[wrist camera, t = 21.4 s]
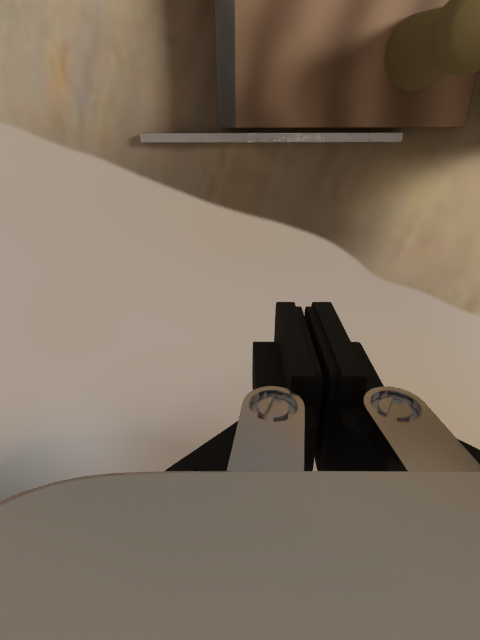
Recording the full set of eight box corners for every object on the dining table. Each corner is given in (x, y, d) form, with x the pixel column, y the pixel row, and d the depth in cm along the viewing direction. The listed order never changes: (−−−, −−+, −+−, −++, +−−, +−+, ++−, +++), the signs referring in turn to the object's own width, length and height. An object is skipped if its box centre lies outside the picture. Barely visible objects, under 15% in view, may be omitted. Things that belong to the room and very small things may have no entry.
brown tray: (493, -28, 33) (538, -56, 28) (458, 126, 39) (489, 127, 34) (217, -27, 33) (213, -54, 28) (221, 127, 39) (217, 127, 34)
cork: (379, 27, 34) (434, -13, 24) (449, -1, 33) (536, -53, 23) (389, 101, 37) (442, 92, 27) (454, 77, 36) (534, 60, 26)
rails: (427, -47, 33) (435, -55, 31) (396, 141, 39) (401, 141, 38) (124, -46, 33) (119, -53, 31) (144, 141, 39) (140, 142, 38)
